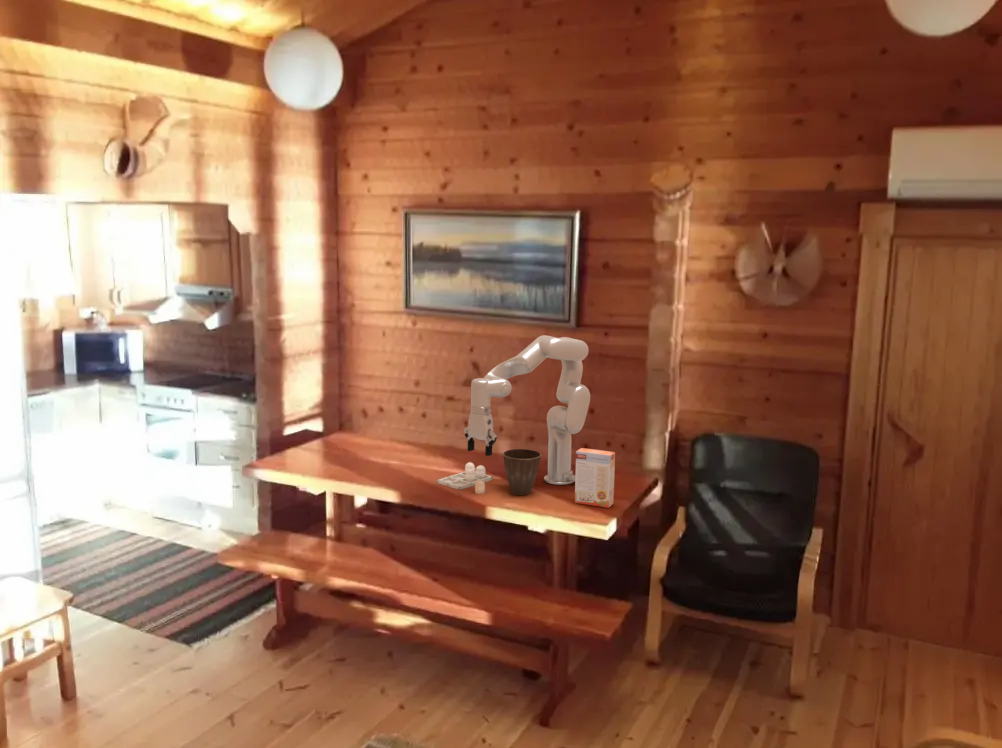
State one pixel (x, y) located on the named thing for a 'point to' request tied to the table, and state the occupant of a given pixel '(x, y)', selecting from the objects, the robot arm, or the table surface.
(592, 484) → the cracker box
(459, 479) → the white egg tray
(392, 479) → the table surface
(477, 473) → the cream egg
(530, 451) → the plant pot
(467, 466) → the cream egg
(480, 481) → the tan egg
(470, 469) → the cream egg
